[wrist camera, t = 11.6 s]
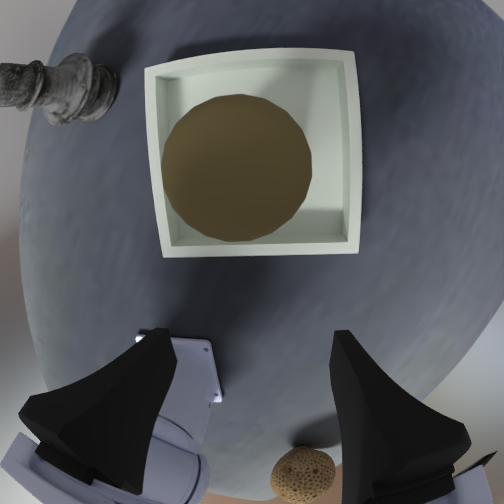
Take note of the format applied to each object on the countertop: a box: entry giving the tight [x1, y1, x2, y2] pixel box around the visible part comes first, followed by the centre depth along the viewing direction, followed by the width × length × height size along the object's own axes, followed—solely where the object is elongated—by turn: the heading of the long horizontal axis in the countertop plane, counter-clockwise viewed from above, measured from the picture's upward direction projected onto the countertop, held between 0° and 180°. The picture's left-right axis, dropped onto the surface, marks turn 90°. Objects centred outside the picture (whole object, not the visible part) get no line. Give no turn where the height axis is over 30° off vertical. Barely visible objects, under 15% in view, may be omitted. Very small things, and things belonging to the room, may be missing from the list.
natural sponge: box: [270, 446, 335, 504], centre depth 27 cm, size 9×9×10 cm
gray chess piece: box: [0, 53, 117, 126], centre depth 11 cm, size 6×6×12 cm
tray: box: [145, 48, 362, 258], centre depth 17 cm, size 14×14×2 cm
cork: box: [161, 94, 312, 242], centre depth 13 cm, size 6×6×11 cm
